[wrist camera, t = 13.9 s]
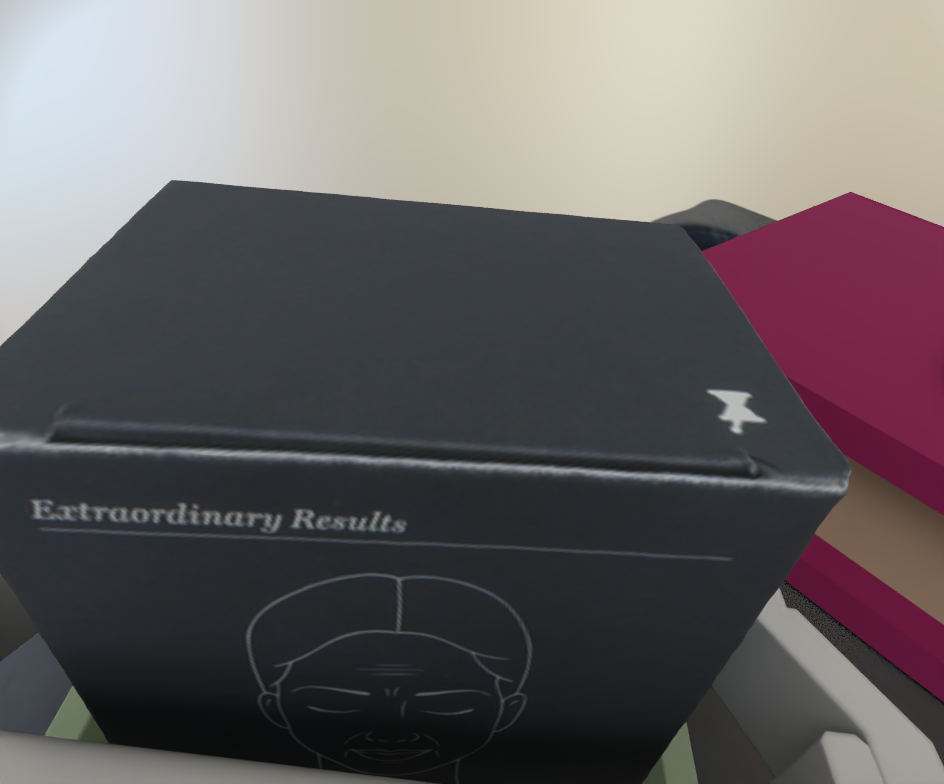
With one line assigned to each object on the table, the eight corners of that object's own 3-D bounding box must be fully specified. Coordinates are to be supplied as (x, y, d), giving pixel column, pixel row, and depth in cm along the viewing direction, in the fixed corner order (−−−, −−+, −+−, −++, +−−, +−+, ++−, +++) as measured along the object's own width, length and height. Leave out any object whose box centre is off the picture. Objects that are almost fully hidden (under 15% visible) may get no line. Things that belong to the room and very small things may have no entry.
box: (556, 601, 16) (691, 215, 10) (592, 868, 12) (890, 498, 5) (248, 585, 16) (162, 160, 9) (164, 862, 11) (-128, 430, 5)
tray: (-101, 1106, 11) (-167, 1101, 9) (197, 525, 20) (186, 483, 19) (729, 1195, 11) (779, 1202, 10) (634, 580, 21) (652, 542, 19)
